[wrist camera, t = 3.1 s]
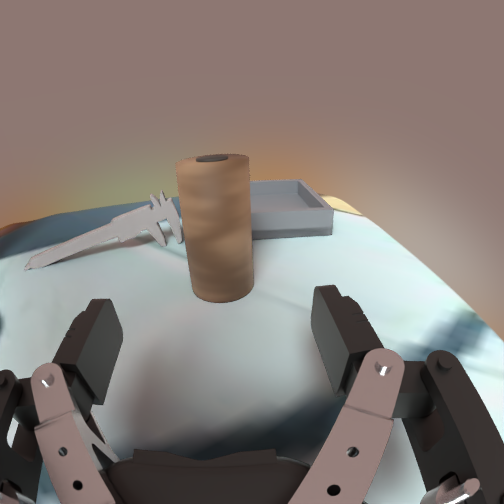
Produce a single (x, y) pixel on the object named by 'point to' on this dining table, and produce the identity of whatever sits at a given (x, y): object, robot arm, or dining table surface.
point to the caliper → (118, 231)
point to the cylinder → (217, 225)
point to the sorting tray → (288, 210)
